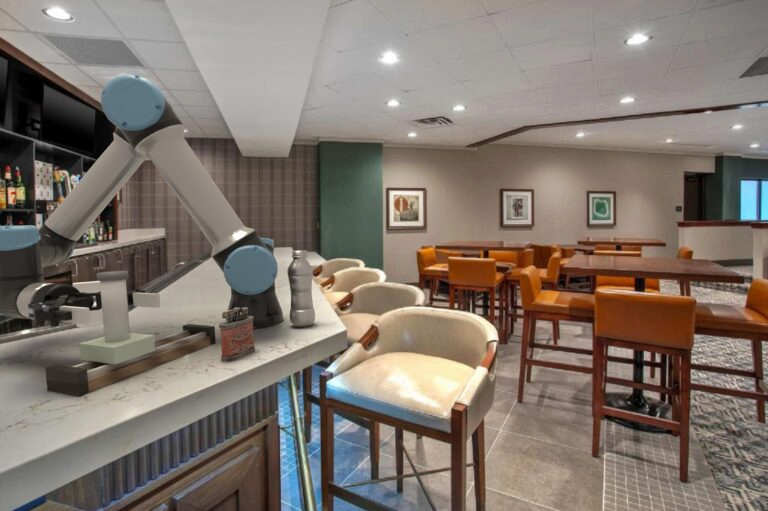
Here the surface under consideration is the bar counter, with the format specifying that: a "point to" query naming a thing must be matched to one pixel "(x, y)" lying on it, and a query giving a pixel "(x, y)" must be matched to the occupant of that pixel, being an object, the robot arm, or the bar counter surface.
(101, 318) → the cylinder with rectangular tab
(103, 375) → the rail track
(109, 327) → the carriage
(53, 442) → the bar counter surface
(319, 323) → the bar counter surface
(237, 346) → the lighter
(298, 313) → the plastic bottle
